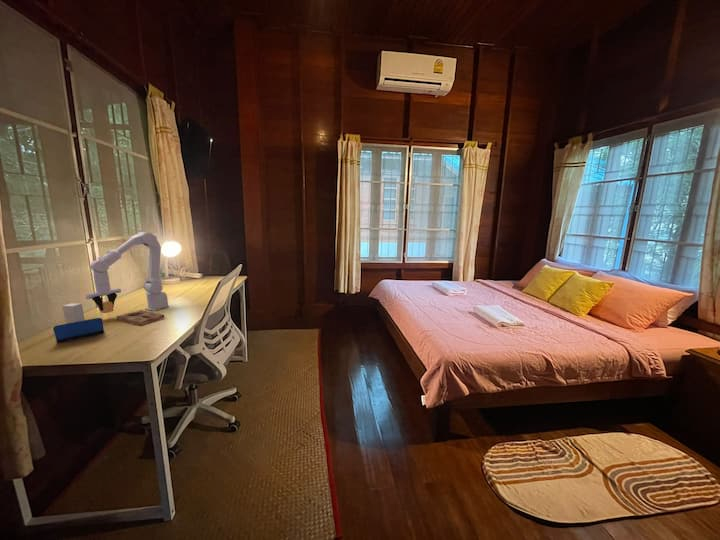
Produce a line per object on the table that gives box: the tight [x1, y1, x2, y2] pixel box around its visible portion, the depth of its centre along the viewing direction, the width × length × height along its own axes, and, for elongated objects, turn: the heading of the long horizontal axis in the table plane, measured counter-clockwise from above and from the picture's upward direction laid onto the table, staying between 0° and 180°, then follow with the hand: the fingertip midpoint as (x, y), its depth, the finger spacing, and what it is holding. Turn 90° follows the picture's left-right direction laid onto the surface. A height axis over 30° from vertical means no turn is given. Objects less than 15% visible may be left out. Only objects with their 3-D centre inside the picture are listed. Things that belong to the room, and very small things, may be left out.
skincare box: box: [61, 303, 86, 324], centre depth 144 cm, size 6×4×12 cm
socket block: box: [115, 309, 165, 326], centre depth 158 cm, size 12×20×2 cm, turn 65°
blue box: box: [53, 317, 105, 344], centre depth 135 cm, size 16×13×9 cm
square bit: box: [99, 300, 114, 314], centre depth 158 cm, size 4×4×5 cm
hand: (106, 309), depth 158 cm, fingers closed on square bit, 4 cm apart
